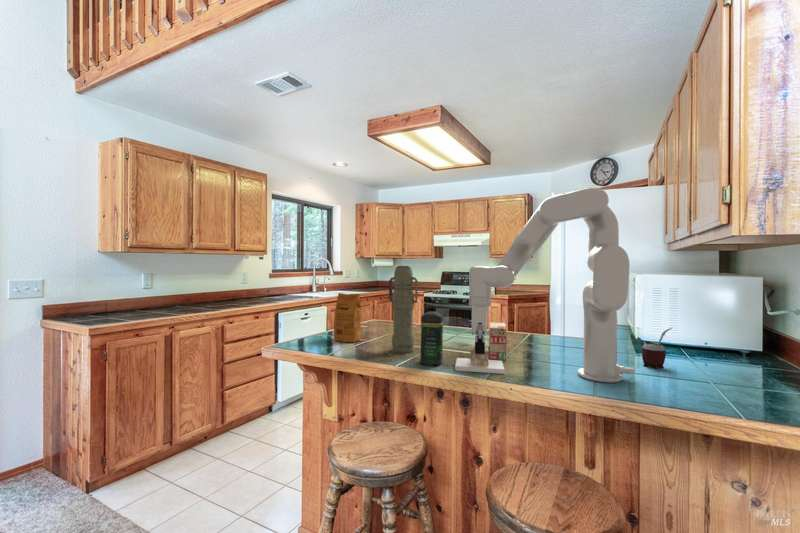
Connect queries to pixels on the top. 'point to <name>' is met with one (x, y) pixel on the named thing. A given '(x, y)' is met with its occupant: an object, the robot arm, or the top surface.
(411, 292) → the thermos
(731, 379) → the top surface
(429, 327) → the coffee jar
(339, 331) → the coffee package
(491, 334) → the food package box
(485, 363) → the bead
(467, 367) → the needle board
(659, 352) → the mate gourd
